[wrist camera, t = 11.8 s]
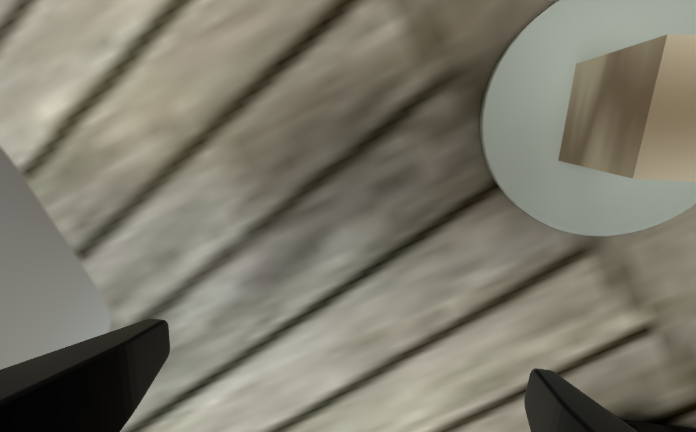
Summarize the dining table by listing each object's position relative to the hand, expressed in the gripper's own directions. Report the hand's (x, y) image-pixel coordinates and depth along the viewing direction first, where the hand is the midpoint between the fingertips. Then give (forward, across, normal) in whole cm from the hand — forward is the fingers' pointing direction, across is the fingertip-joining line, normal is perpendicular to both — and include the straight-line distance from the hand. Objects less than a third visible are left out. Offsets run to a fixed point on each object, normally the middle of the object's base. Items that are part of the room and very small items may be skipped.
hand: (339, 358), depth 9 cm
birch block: (+12, -11, -7) cm, 18 cm away
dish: (+13, -11, -6) cm, 18 cm away
